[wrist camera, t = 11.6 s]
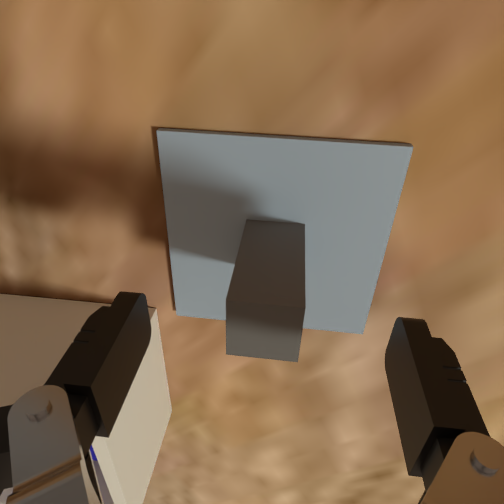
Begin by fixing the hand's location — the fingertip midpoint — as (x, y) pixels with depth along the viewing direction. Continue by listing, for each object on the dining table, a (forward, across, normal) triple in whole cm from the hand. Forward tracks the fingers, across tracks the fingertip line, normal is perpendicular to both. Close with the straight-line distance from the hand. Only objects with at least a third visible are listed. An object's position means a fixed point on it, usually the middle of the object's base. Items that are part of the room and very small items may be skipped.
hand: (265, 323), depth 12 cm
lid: (+7, 0, +1) cm, 7 cm away
